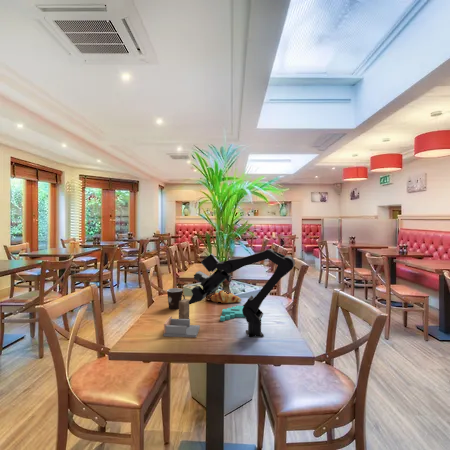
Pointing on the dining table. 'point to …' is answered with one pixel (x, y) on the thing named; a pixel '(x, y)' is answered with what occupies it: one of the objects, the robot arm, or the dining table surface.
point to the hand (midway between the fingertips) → (193, 300)
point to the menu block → (184, 309)
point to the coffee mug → (174, 297)
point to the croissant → (225, 297)
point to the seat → (180, 328)
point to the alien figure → (232, 313)
